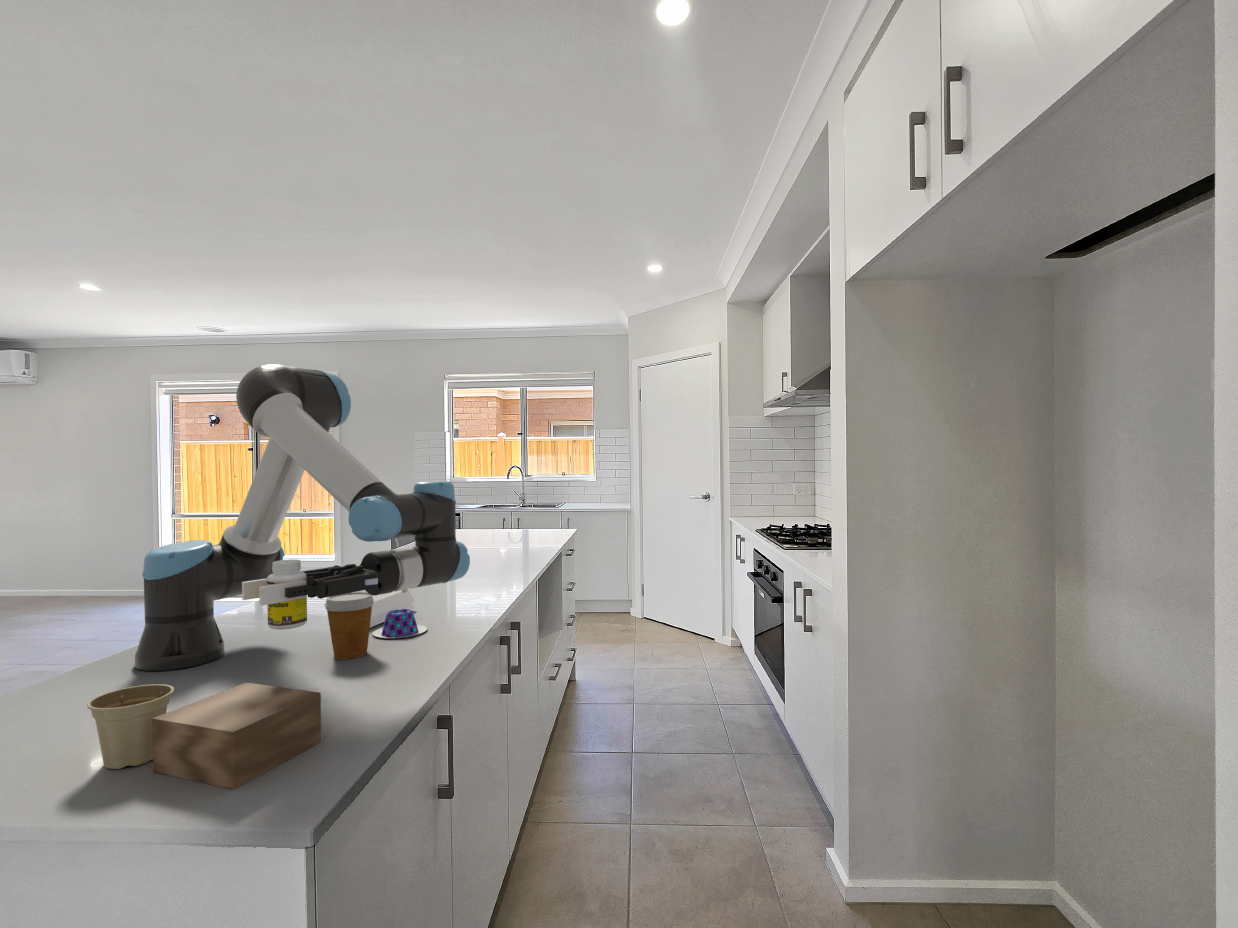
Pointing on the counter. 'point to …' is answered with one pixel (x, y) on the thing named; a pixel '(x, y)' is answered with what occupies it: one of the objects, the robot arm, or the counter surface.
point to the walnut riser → (236, 734)
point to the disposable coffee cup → (349, 623)
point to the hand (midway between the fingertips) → (252, 593)
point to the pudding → (399, 625)
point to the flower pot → (128, 722)
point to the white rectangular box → (389, 605)
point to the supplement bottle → (288, 611)
